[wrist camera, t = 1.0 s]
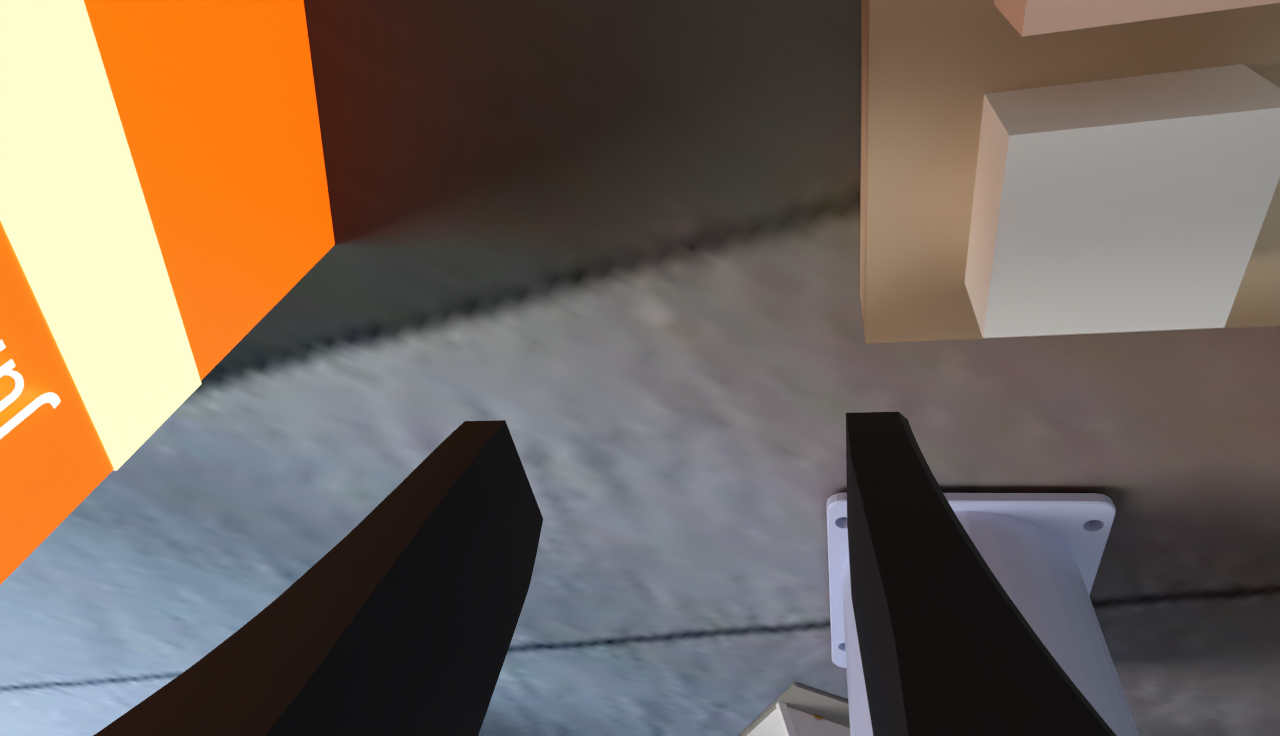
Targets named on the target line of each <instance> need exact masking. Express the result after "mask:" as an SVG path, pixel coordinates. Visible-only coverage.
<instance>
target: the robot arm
mask: <svg viewBox="0 0 1280 736" xmlns="http://www.w3.org/2000/svg"><path fill="white" fill-rule="evenodd" d="M846 455H847V493H836V494H834V495H832V496H830V497H829V498H828V500H827V532H828V561H829V590H830V619H831V648H832V661H833V663H834V664H835V665H837V666H839V667H842V668H847V685H848V702H849V720H850V736H1139V734H1138V731H1137V728H1136V725H1135V723H1134V720H1133V717H1132V714H1131V711H1130V709H1129V706H1128V703H1127V700H1126V698H1125V695H1124V692H1123V689H1122V686H1121V684H1120V681H1119V678H1118V675H1117V672H1116V670H1115V667H1114V664H1113V661H1112V658H1111V656H1110V653H1109V650H1108V647H1107V644H1106V642H1105V639H1104V636H1103V633H1102V631H1101V628H1100V625H1099V622H1098V619H1097V617H1096V614H1095V611H1094V608H1093V605H1092V603H1091V600H1090V597H1089V596H1090V592H1091V589H1092V586H1093V583H1094V580H1095V577H1096V574H1097V570H1098V567H1099V564H1100V561H1101V558H1102V555H1103V552H1104V549H1105V545H1106V542H1107V539H1108V536H1109V533H1110V530H1111V527H1112V524H1113V520H1114V517H1115V514H1116V508H1115V506H1114V504H1113V501H1112V500H1111V499H1110V497H1108V496H1106V495H1104V494H1097V493H943V492H942V490H941V488H940V486H939V485H938V483H937V481H936V479H935V477H934V476H933V474H932V472H931V470H930V468H929V466H928V464H927V462H926V460H925V458H924V456H923V454H922V452H921V450H920V448H919V446H918V444H917V442H916V439H915V437H914V435H913V433H912V430H911V428H910V425H909V422H908V420H907V418H905V417H904V416H903V415H902V414H900V413H899V412H870V413H846ZM841 517H846V518H844V519H843V518H841ZM1090 520H1093V521H1090ZM542 522H543V518H542V515H541V512H540V510H539V507H538V505H537V502H536V499H535V497H534V494H533V492H532V489H531V486H530V484H529V481H528V479H527V476H526V473H525V471H524V468H523V466H522V463H521V460H520V458H519V455H518V453H517V450H516V447H515V445H514V442H513V440H512V437H511V435H510V432H509V429H508V427H507V424H506V422H505V421H465V422H464V423H463V424H462V425H460V426H459V427H458V428H457V429H456V430H455V431H454V432H453V433H452V434H451V435H450V436H449V437H447V438H446V439H445V440H444V441H443V442H442V443H441V444H440V445H439V446H438V447H437V448H436V449H435V450H434V451H433V452H432V453H431V454H430V455H429V456H428V457H427V458H426V459H425V460H424V461H423V462H422V463H421V464H420V465H419V466H418V467H417V468H416V469H415V470H414V471H413V472H412V473H411V474H410V475H409V476H408V477H407V478H406V479H405V480H404V481H403V482H402V483H401V484H400V485H399V486H398V487H397V488H396V489H395V490H394V491H393V492H392V493H391V494H390V495H388V496H387V497H386V498H385V499H384V500H383V501H382V502H381V503H380V504H379V505H378V506H377V507H376V508H375V509H374V510H373V511H372V512H371V513H370V514H369V515H368V516H367V517H366V518H365V519H364V520H363V521H362V522H361V523H360V524H359V525H358V526H357V527H355V528H354V529H353V530H352V531H351V532H350V533H349V534H348V535H347V536H346V537H345V538H344V539H343V540H342V541H341V542H339V543H338V544H337V545H336V546H335V547H334V548H333V549H332V550H331V551H329V552H328V553H327V554H326V555H325V556H324V557H323V558H322V559H321V560H319V561H318V562H317V563H316V564H315V565H314V566H313V567H312V568H311V569H309V570H308V571H307V572H306V573H305V574H304V575H303V576H302V577H301V578H299V579H298V580H297V581H296V582H295V583H294V584H293V585H292V586H291V587H289V588H288V589H287V590H286V591H285V592H284V593H283V594H282V595H280V596H279V597H278V598H277V599H276V600H275V601H273V602H272V603H271V604H270V605H269V606H267V607H266V608H265V609H264V610H263V611H261V612H260V613H259V614H258V615H257V616H255V617H254V618H253V619H252V620H251V621H249V622H248V623H247V624H246V625H244V626H243V627H242V628H241V629H239V630H238V631H237V632H236V633H234V634H233V635H232V636H230V637H229V638H228V639H227V640H225V641H224V642H223V643H221V644H220V645H219V646H218V647H216V648H215V649H214V650H212V651H211V652H210V653H209V654H207V655H206V656H205V657H204V658H202V659H201V660H200V661H198V662H197V663H196V664H194V665H193V666H192V667H190V668H189V669H188V670H186V671H185V672H184V673H182V674H181V675H179V676H178V677H177V678H175V679H174V680H172V681H171V682H170V683H168V684H167V685H165V686H164V687H162V688H161V689H160V690H158V691H157V692H155V693H154V694H152V695H151V696H150V697H148V698H147V699H145V700H144V701H142V702H141V703H140V704H138V705H137V706H135V707H134V708H132V709H131V710H130V711H128V712H127V713H125V714H124V715H122V716H121V717H120V718H118V719H117V720H115V721H114V722H112V723H111V724H110V725H108V726H107V727H105V728H104V729H102V730H101V731H100V732H98V733H97V734H95V735H94V736H478V735H479V732H480V729H481V726H482V723H483V720H484V717H485V715H486V712H487V709H488V706H489V703H490V700H491V697H492V694H493V691H494V689H495V686H496V683H497V680H498V677H499V674H500V671H501V668H502V666H503V663H504V660H505V657H506V654H507V651H508V648H509V645H510V642H511V640H512V637H513V634H514V631H515V628H516V625H517V622H518V619H519V616H520V613H521V610H522V607H523V604H524V601H525V598H526V595H527V592H528V589H529V585H530V581H531V576H532V572H533V567H534V563H535V558H536V553H537V548H538V543H539V537H540V532H541V527H542Z"/></svg>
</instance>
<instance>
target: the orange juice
mask: <svg viewBox="0 0 1280 736" xmlns="http://www.w3.org/2000/svg"><path fill="white" fill-rule="evenodd" d="M334 245H335V242H334V234H333V227H332V219H331V211H330V203H329V195H328V188H327V180H326V172H325V164H324V156H323V149H322V141H321V133H320V125H319V118H318V110H317V102H316V94H315V86H314V79H313V71H312V63H311V55H310V48H309V40H308V32H307V24H306V16H305V9H304V1H303V0H0V584H1V583H2V582H3V581H4V580H5V579H6V578H7V577H8V576H9V575H10V574H11V573H12V572H13V571H14V570H15V569H16V568H17V567H18V566H19V565H20V564H21V563H22V562H23V561H24V560H25V559H26V558H27V557H28V556H29V555H30V554H31V553H32V552H33V551H34V550H35V549H36V548H37V547H38V546H39V545H40V544H41V543H42V542H43V540H44V539H45V538H46V537H47V536H48V535H49V534H50V533H51V532H52V531H53V530H54V529H55V528H56V527H57V526H58V525H59V524H60V523H61V522H62V521H63V520H64V519H65V518H66V517H67V516H68V515H69V514H70V513H71V512H72V511H73V510H74V509H75V508H76V507H77V506H78V505H79V504H80V503H81V502H82V501H83V500H84V499H85V498H86V497H87V496H88V495H89V494H90V493H91V492H92V491H93V490H94V489H95V488H96V487H97V486H98V485H99V484H100V483H101V482H102V481H103V480H104V479H105V478H106V477H107V475H108V474H109V473H110V472H111V471H112V470H116V471H117V470H118V469H119V468H120V467H121V466H122V465H123V464H124V463H125V462H126V461H127V460H128V459H129V458H130V457H131V456H132V455H133V453H134V452H135V451H136V450H137V449H138V448H139V447H140V446H141V445H142V444H143V443H144V442H145V441H146V440H147V439H148V438H149V437H150V436H151V435H152V434H153V433H154V432H155V431H156V430H157V429H158V428H159V427H160V426H161V425H162V424H163V423H164V422H165V421H166V420H167V419H168V418H169V417H170V416H171V415H172V414H173V413H174V412H175V411H176V410H177V409H178V407H179V406H180V405H181V404H182V403H183V402H184V401H185V400H186V399H187V398H188V397H189V396H190V395H191V394H192V393H193V392H194V391H195V390H196V389H197V388H198V387H199V386H200V385H201V384H202V383H201V380H202V379H203V378H204V377H205V376H206V375H207V374H208V373H209V372H210V371H211V370H212V369H213V368H214V367H215V366H216V365H217V364H218V363H219V362H220V361H221V360H222V359H223V358H224V357H225V356H226V355H227V354H228V353H229V352H230V351H231V350H232V349H233V347H234V346H235V345H236V344H237V343H238V342H239V341H240V340H241V339H242V338H243V337H244V336H245V335H246V334H247V333H248V332H249V331H250V330H251V329H252V328H253V327H254V326H255V325H256V324H257V323H258V322H259V321H260V320H261V319H262V318H263V317H264V316H265V315H266V314H267V313H268V312H269V311H270V310H271V309H272V308H273V307H274V306H275V305H276V304H277V303H278V302H279V301H280V300H281V299H282V298H283V297H284V296H285V295H286V294H287V293H288V292H289V291H290V290H291V289H292V288H293V287H294V286H295V285H296V283H297V282H298V281H299V280H300V279H301V278H302V277H303V276H304V275H305V274H306V273H307V272H308V271H309V270H310V269H311V268H312V267H313V266H314V265H315V264H316V263H317V262H318V261H319V260H320V259H321V258H322V257H323V256H324V255H325V254H326V253H327V252H328V251H329V250H330V249H331V248H332V247H333V246H334Z"/></svg>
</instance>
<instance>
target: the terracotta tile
mask: <svg viewBox="0 0 1280 736" xmlns="http://www.w3.org/2000/svg"><path fill="white" fill-rule="evenodd" d="M1273 3H1280V0H994V5H995V6H996V7H997V9H998V10H999V11H1000V12H1001V13H1002V14H1003V16H1004V17H1005V18H1006V19H1007V20H1008V21H1009V22H1010V24H1011V25H1012V26H1013V27H1014V28H1015V29H1016V30H1017V32H1018V33H1019V34H1020V35H1021V36H1022V37H1023V36H1031V35H1038V34H1046V33H1053V32H1061V31H1068V30H1076V29H1084V28H1091V27H1099V26H1106V25H1114V24H1122V23H1129V22H1137V21H1144V20H1152V19H1160V18H1167V17H1175V16H1182V15H1190V14H1197V13H1205V12H1213V11H1220V10H1228V9H1235V8H1243V7H1251V6H1258V5H1266V4H1273Z"/></svg>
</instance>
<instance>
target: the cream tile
mask: <svg viewBox="0 0 1280 736" xmlns="http://www.w3.org/2000/svg"><path fill="white" fill-rule="evenodd" d="M1279 178H1280V88H1279V87H1278V86H1276V85H1275V84H1273V83H1271V82H1270V81H1268V80H1267V79H1265V78H1264V77H1262V76H1261V75H1259V74H1257V73H1256V72H1254V71H1253V70H1251V69H1250V68H1248V67H1247V66H1245V65H1243V64H1237V65H1229V66H1220V67H1211V68H1203V69H1194V70H1186V71H1177V72H1168V73H1160V74H1151V75H1143V76H1134V77H1125V78H1117V79H1108V80H1100V81H1091V82H1082V83H1074V84H1065V85H1057V86H1048V87H1039V88H1031V89H1022V90H1014V91H1005V92H996V93H988V94H984V101H983V111H982V121H981V130H980V140H979V149H978V159H977V168H976V178H975V187H974V197H973V207H972V216H971V226H970V235H969V245H968V254H967V264H966V273H965V286H966V289H967V292H968V295H969V298H970V301H971V304H972V307H973V310H974V313H975V316H976V319H977V322H978V325H979V328H980V331H981V334H982V337H983V338H997V337H1020V336H1043V335H1066V334H1089V333H1112V332H1135V331H1158V330H1181V329H1204V328H1224V327H1225V324H1226V322H1227V319H1228V316H1229V314H1230V311H1231V308H1232V305H1233V303H1234V300H1235V297H1236V295H1237V292H1238V289H1239V286H1240V284H1241V281H1242V278H1243V276H1244V273H1245V270H1246V267H1247V265H1248V262H1249V259H1250V257H1251V254H1252V251H1253V249H1254V246H1255V243H1256V240H1257V238H1258V235H1259V232H1260V230H1261V227H1262V224H1263V221H1264V219H1265V216H1266V213H1267V211H1268V208H1269V205H1270V202H1271V200H1272V197H1273V194H1274V192H1275V189H1276V186H1277V183H1278V181H1279Z"/></svg>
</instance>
